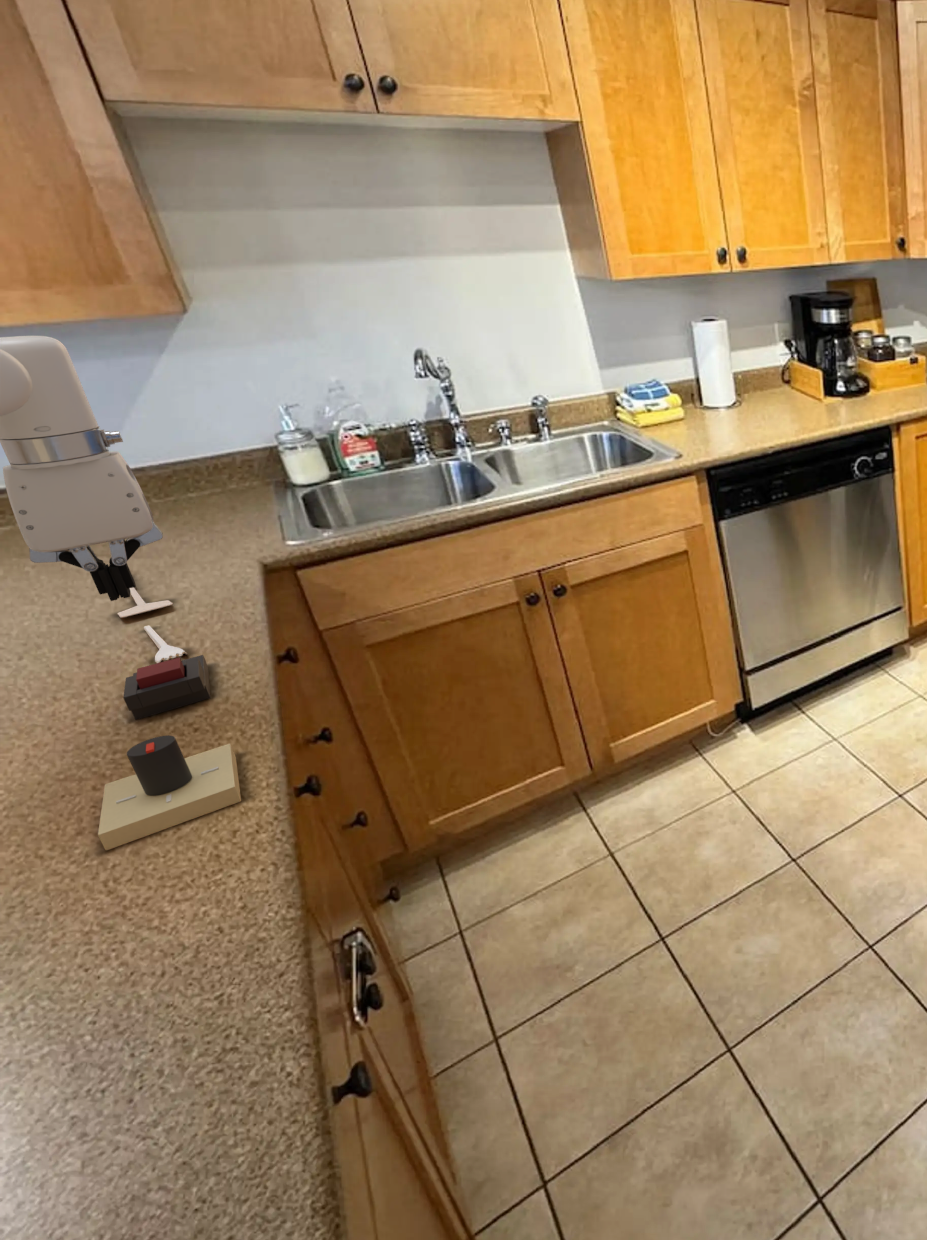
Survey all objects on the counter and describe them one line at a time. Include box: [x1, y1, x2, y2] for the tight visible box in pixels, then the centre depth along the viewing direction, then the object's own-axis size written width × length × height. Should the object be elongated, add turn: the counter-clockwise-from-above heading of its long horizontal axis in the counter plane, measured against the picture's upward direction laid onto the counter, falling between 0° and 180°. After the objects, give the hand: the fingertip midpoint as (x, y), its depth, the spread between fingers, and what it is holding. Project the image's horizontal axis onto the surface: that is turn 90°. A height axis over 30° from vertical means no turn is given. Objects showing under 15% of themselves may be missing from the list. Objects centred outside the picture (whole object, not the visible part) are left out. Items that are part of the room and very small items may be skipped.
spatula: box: [116, 587, 174, 619], centre depth 134 cm, size 6×29×2 cm, turn 53°
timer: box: [97, 743, 242, 851], centre depth 82 cm, size 11×10×2 cm
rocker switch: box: [122, 654, 211, 721], centre depth 103 cm, size 13×7×4 cm, turn 45°
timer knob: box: [126, 734, 192, 796], centre depth 81 cm, size 4×4×5 cm
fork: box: [143, 624, 188, 664], centre depth 116 cm, size 3×20×2 cm, turn 54°
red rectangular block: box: [136, 657, 185, 689], centre depth 100 cm, size 4×4×2 cm
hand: (120, 595), depth 93 cm, fingers closed
